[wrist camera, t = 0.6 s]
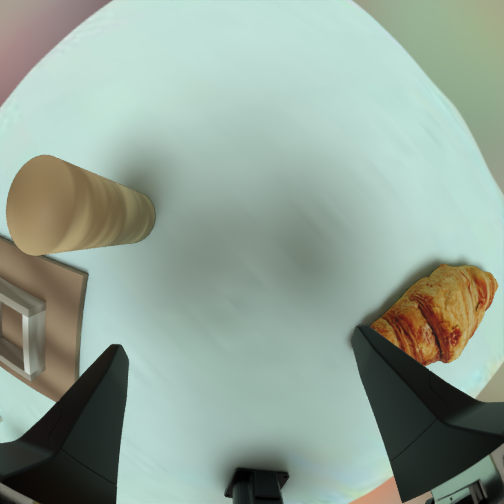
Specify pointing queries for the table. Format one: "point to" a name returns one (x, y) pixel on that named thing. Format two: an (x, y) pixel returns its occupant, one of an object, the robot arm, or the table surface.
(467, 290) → the croissant
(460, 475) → the robot arm
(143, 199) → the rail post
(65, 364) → the cup bracket
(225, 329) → the table surface
